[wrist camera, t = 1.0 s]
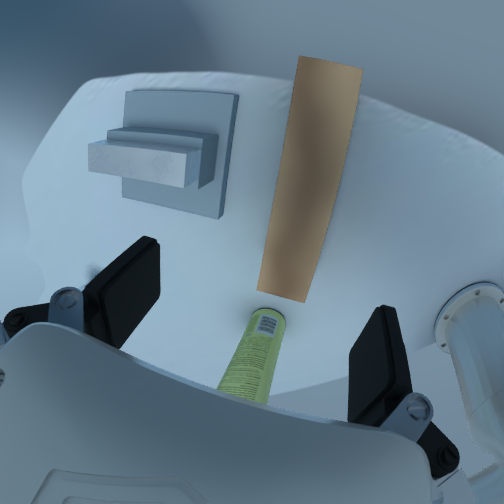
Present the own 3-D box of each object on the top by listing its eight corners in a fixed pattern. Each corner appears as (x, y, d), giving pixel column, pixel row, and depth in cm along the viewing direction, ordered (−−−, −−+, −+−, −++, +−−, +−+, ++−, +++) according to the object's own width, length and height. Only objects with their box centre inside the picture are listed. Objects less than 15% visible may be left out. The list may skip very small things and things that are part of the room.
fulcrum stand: (238, 95, 26) (204, 90, 19) (222, 215, 33) (190, 246, 26) (133, 91, 28) (84, 93, 21) (129, 193, 35) (86, 216, 28)
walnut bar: (355, 80, 22) (363, 69, 16) (310, 267, 33) (304, 303, 27) (306, 69, 23) (298, 55, 17) (271, 257, 34) (256, 290, 28)
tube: (270, 340, 40) (229, 458, 24) (242, 322, 40) (188, 438, 24) (293, 320, 37) (257, 450, 21) (263, 300, 37) (210, 428, 21)
